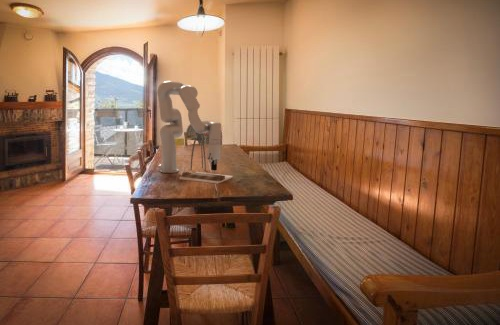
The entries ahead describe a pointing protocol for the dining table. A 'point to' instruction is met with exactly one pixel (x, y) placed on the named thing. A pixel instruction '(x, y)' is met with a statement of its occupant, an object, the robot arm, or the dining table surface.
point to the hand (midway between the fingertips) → (213, 170)
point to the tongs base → (201, 176)
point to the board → (207, 180)
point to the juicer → (200, 140)
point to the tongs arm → (211, 174)
